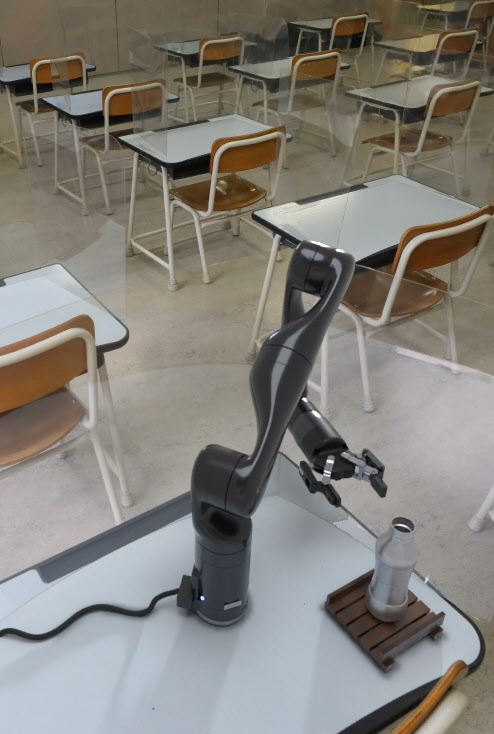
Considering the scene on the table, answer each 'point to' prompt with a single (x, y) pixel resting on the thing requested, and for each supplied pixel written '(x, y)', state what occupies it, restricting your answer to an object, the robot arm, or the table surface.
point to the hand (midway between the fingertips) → (362, 498)
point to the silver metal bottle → (392, 570)
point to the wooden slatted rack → (360, 623)
